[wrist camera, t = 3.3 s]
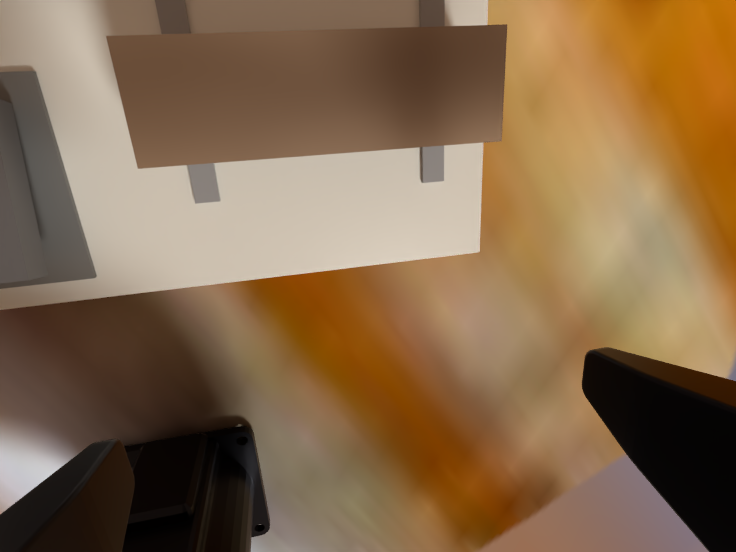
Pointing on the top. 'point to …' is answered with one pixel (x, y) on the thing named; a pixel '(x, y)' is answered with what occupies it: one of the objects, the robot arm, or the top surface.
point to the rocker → (16, 209)
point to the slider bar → (308, 91)
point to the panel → (213, 180)
